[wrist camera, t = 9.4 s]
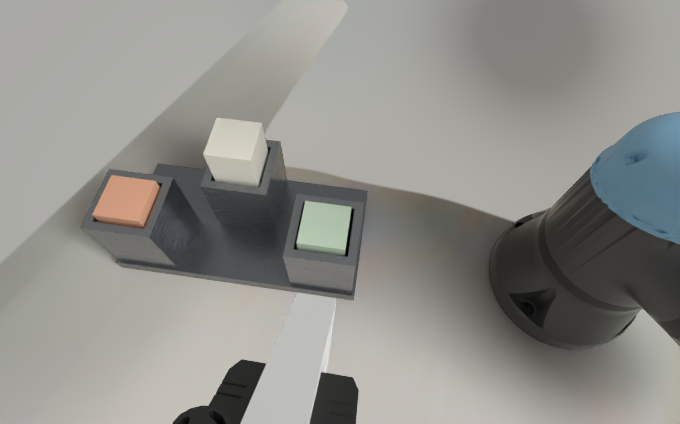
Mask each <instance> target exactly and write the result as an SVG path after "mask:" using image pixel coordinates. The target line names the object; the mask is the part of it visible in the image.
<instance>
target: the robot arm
mask: <svg viewBox="0 0 680 424" xmlns="http://www.w3.org/2000/svg"><path fill="white" fill-rule="evenodd" d="M489 273H490V280H491V285H492V288H493V291H494V294H495V296H496V298H497V300H498V302H499V304H500V305H501V307H502V308H503V310H504V311H505V313H506V314H507V315H508V316H509V318H510V319H511V320H512V321H513V322H514V323H515V324H516V325H517V326H518V327H520V328H521V329H522V330H523V331H525V332H526V333H527V334H529V335H531V336H532V337H534V338H536V339H537V340H539V341H541V342H544V343H546V344H549V345H552V346H555V347H559V348H564V349H587V348H591V347H594V346H598V345H601V344H604V343H607V342H609V341H611V340H613V339H615V338H617V337H618V336H619V335H621V334H622V333H623V332H625V330H626V329H627V328H628V327H629V326H630V325H631V323H632V322H633V320H634V319H635V317H636V315H637V313H638V312H639V311H640V310H641V309H642V308H643V309H644V310H645V311H646V312H647V313H648V314H649V315H650V316H651V317H652V318H653V319H654V320H655V321H656V322H657V323H658V324H659V325H660V326H661V327H662V328H663V329H664V330H665V331H666V332H667V333H668V334H669V335H670V336H671V337H672V339H673V340H674V341H675V342H676V343H677V344H678V345H679V346H680V112H676V113H669V114H664V115H660V116H657V117H654V118H651V119H649V120H647V121H644V122H642V123H640V124H639V125H637V126H636V127H634V128H633V129H631V130H630V131H629V132H628V133H627V134H626V135H624V136H623V137H622V138H621V139H620V140H619V141H618V142H617V143H615V144H614V145H612V146H610V147H609V148H607V149H605V150H604V151H603V152H602V153H601V154H600V155H599V156H598V157H597V158H596V161H595V162H594V163H593V164H592V167H590V168H589V169H588V170H587V171H586V172H585V174H584V175H583V176H582V177H581V178H580V179H579V180H578V181H577V182H576V183H575V184H574V185H573V186H572V187H571V188H570V189H569V190H568V191H567V192H566V193H565V194H564V195H563V196H562V197H561V198H560V199H559V200H558V201H557V202H556V203H555V204H554V205H553V206H552V207H551V208H549V209H546V210H543V211H540V212H537V213H534V214H531V215H528V216H526V217H523V218H522V219H520V220H518V221H516V222H515V223H513V224H512V225H511V226H510V227H509V228H508V229H507V230H506V231H505V232H504V233H503V234H502V236H501V237H500V238H499V239H498V241H497V242H496V244H495V246H494V248H493V250H492V253H491V257H490V263H489ZM335 306H336V298H330V297H324V296H318V295H312V294H305V293H299V292H297V295H296V297H295V299H294V301H293V304H292V306H291V308H290V311H289V313H288V315H287V318H286V320H285V322H284V324H283V327H282V329H281V331H280V334H279V336H278V338H277V340H276V343H275V345H274V347H273V350H272V352H271V354H270V357H269V359H268V361H267V363H266V364H265V363H259V362H253V361H248V360H240V361H239V362H238V363H237V364H235V365H234V366H233V367H231V368H230V369H229V370H228V372H227V374H226V376H225V378H224V379H223V381H222V384H221V385H220V387H219V388H218V390H217V392H216V395H214V397H213V399H212V401H211V403H210V404H209V406H199V407H195V408H191V409H189V410H187V411H186V412H184V413H182V414H180V415H179V416H178V418H177V419H176V420H175V421H174V422H173V424H356V413H357V402H358V388H357V386H356V384H355V381H354V379H353V378H352V377H347V376H341V375H335V374H329V373H326V369H327V364H328V359H329V351H330V344H331V336H332V329H333V321H334V313H335Z"/></svg>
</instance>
